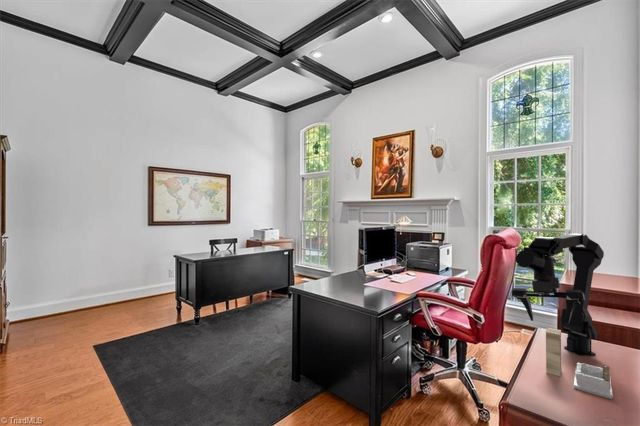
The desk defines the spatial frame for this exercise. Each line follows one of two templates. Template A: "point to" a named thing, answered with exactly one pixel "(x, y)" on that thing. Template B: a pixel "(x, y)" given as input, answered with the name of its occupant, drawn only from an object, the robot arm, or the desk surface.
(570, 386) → the desk surface
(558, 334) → the tan wooden block
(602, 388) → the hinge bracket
